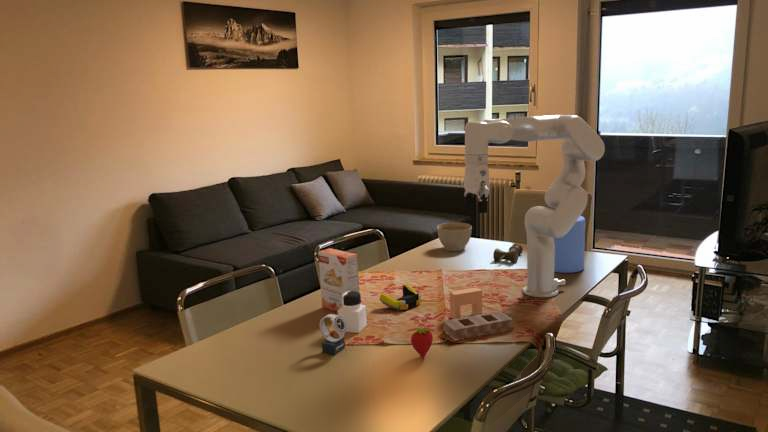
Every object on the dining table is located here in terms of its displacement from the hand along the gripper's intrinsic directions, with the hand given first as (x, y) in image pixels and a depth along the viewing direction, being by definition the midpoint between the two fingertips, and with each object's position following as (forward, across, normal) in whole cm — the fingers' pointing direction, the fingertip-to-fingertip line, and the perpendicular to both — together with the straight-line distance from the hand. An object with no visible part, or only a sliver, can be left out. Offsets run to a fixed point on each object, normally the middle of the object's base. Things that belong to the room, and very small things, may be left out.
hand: (475, 210), depth 208 cm
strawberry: (+35, -30, +31) cm, 56 cm away
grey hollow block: (+34, -20, +9) cm, 40 cm away
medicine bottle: (+35, -2, +44) cm, 56 cm away
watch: (+36, -16, +54) cm, 66 cm away
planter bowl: (+33, +72, -26) cm, 83 cm away
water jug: (+32, +24, -52) cm, 66 cm away
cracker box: (+35, +16, +43) cm, 58 cm away
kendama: (+33, +45, -39) cm, 68 cm away
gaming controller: (+35, +11, +22) cm, 43 cm away
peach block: (+34, -8, +7) cm, 36 cm away
